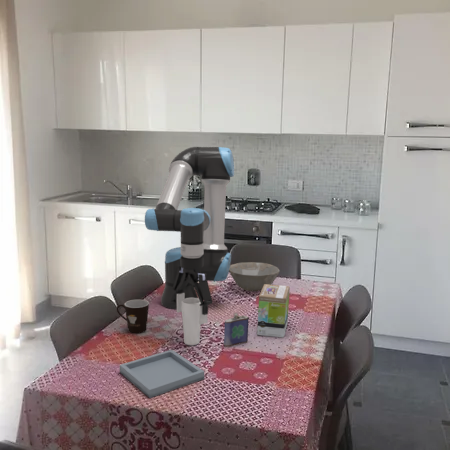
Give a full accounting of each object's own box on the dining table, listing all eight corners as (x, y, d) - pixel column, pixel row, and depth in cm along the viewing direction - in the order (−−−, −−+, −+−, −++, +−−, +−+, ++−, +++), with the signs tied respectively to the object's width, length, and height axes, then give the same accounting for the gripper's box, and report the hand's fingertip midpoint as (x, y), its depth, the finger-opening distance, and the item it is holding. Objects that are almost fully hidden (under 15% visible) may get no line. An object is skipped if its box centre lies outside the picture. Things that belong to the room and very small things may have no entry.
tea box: (285, 338, 175) (286, 297, 173) (256, 335, 177) (257, 295, 175) (288, 322, 190) (289, 285, 187) (262, 320, 192) (263, 283, 189)
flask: (226, 347, 167) (226, 317, 165) (221, 344, 170) (222, 314, 168) (249, 342, 172) (250, 312, 170) (244, 339, 174) (245, 309, 172)
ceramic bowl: (280, 298, 217) (281, 275, 215) (227, 297, 218) (228, 274, 216) (276, 282, 239) (277, 262, 237) (228, 281, 239) (228, 261, 237)
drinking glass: (194, 348, 166) (194, 305, 163) (177, 343, 169) (177, 301, 167) (205, 341, 171) (205, 299, 169) (189, 337, 175) (189, 296, 172)
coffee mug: (154, 330, 181) (153, 303, 179) (134, 336, 175) (134, 309, 173) (134, 321, 188) (134, 296, 187) (115, 327, 182) (114, 301, 180)
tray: (119, 372, 149) (119, 364, 149) (171, 356, 160) (171, 349, 159) (149, 398, 135) (149, 389, 135) (204, 378, 146) (204, 371, 145)
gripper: (162, 249, 172) (162, 309, 176) (204, 265, 153) (203, 331, 156) (181, 247, 177) (180, 305, 180) (224, 261, 157) (223, 326, 161)
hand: (191, 317), depth 168 cm, fingers open, 13 cm apart
